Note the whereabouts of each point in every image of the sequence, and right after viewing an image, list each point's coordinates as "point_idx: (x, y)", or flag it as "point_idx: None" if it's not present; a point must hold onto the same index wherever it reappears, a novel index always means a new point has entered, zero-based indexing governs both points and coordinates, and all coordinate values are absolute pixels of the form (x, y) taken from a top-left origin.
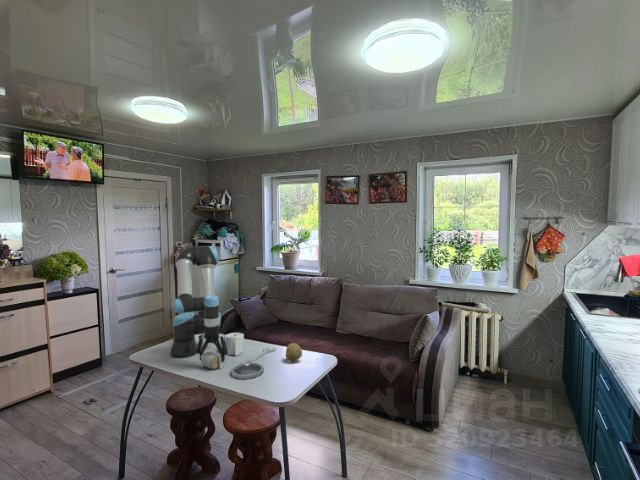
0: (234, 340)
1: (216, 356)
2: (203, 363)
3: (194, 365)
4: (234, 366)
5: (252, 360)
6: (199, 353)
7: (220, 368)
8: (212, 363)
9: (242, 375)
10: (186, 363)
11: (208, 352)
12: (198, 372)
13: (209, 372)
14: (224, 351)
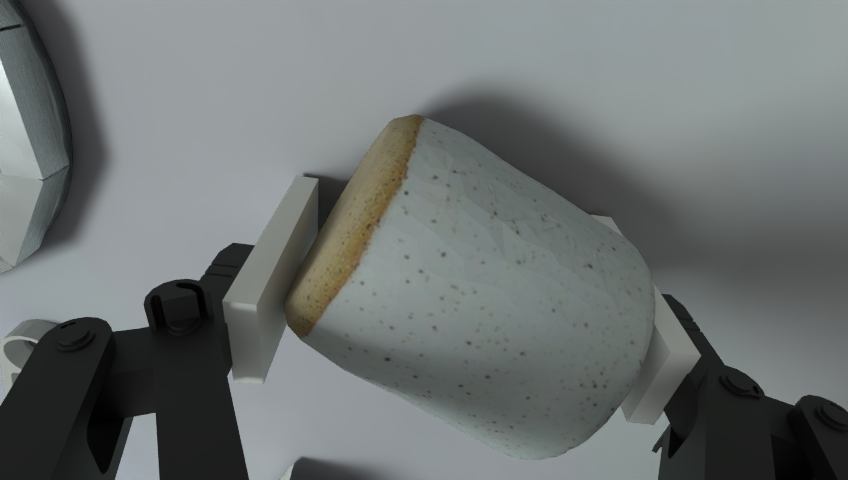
0: None
1: (315, 292)
2: (589, 215)
3: (714, 276)
4: (38, 171)
5: (2, 372)
6: (756, 390)
7: (302, 177)
8: (383, 142)
9: None
10: (824, 325)
11: (553, 425)
12: (623, 38)
13: (430, 43)
14: (40, 397)
